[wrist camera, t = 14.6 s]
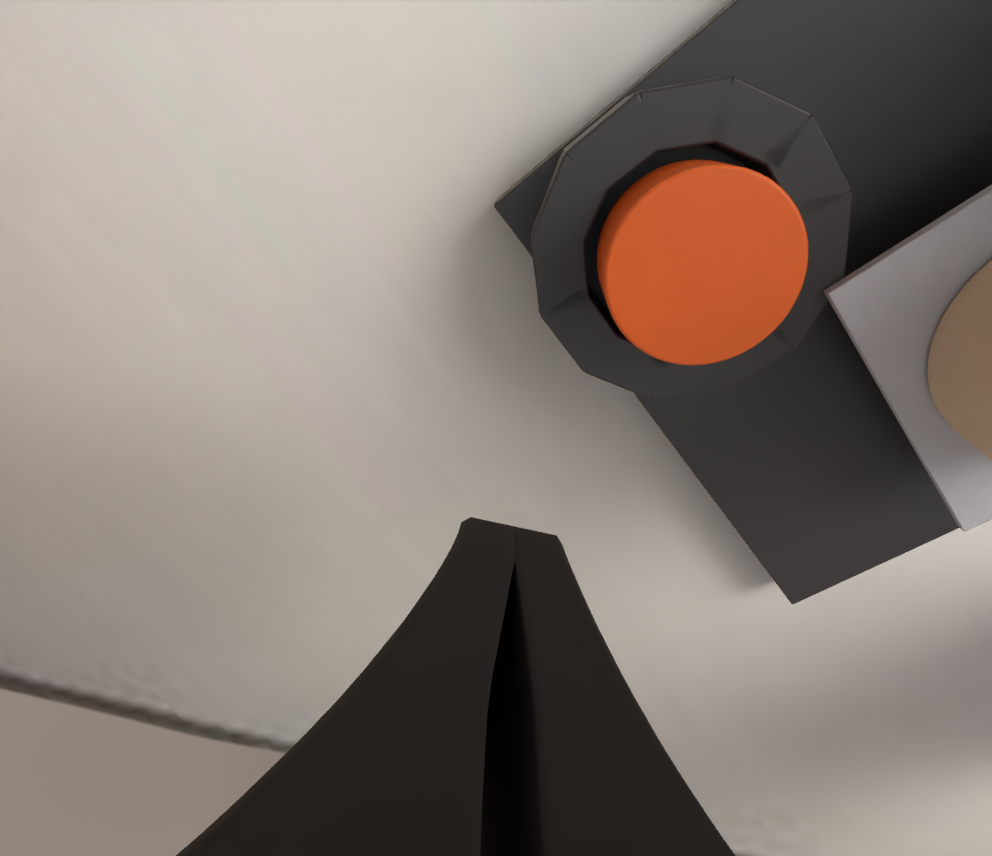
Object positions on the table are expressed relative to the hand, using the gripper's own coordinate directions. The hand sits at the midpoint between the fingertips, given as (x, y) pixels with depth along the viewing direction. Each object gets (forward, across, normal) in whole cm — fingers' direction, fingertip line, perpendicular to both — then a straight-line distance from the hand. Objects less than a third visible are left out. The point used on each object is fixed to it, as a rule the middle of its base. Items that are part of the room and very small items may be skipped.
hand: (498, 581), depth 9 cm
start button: (+8, -3, -4) cm, 9 cm away
